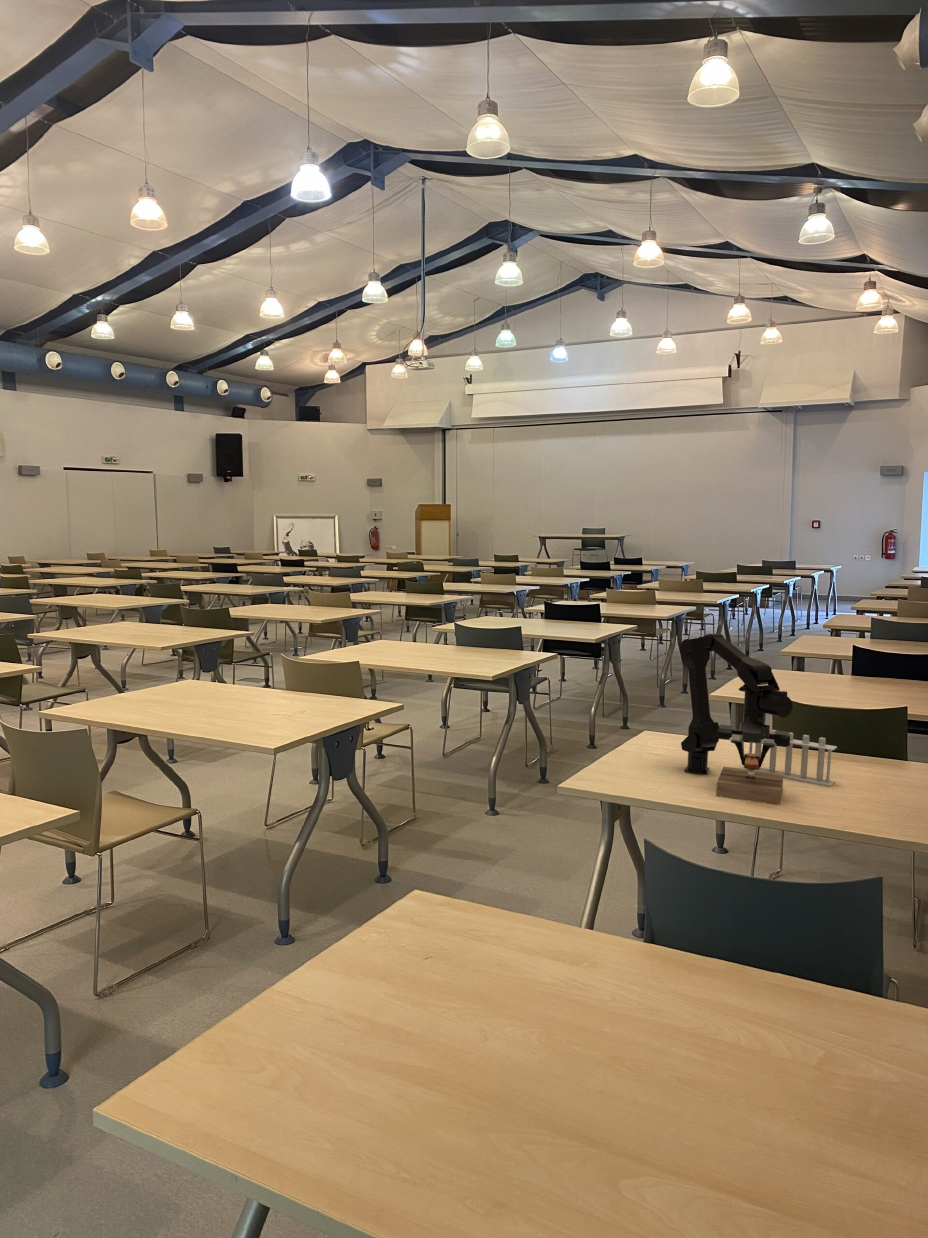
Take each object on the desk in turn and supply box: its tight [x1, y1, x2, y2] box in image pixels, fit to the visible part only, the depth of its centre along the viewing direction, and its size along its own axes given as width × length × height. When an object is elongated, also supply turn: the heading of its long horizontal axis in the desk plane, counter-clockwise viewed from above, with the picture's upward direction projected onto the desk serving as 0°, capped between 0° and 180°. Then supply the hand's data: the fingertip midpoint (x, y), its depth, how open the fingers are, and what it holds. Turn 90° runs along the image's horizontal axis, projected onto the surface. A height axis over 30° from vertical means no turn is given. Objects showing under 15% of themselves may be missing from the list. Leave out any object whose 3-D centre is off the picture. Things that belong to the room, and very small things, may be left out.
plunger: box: [743, 752, 760, 779], centre depth 227 cm, size 4×4×8 cm
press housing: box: [716, 766, 784, 806], centre depth 227 cm, size 16×16×4 cm
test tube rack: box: [741, 729, 838, 788], centre depth 242 cm, size 25×4×13 cm, turn 53°
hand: (751, 766), depth 227 cm, fingers closed on plunger, 4 cm apart
